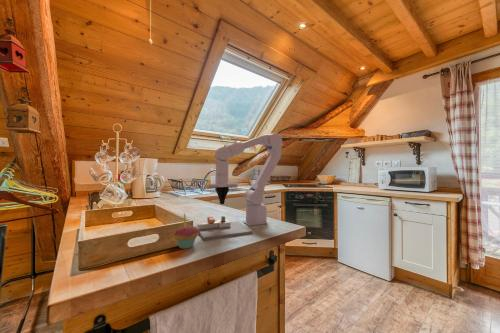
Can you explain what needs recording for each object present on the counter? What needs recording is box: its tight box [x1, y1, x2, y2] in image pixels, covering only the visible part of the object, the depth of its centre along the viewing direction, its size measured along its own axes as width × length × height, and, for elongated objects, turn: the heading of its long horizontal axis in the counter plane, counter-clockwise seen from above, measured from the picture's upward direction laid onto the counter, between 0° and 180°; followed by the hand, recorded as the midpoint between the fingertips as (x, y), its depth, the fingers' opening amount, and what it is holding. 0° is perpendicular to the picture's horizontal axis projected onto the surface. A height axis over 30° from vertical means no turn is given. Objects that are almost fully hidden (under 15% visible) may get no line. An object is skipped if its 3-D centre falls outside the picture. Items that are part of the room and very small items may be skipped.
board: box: [194, 220, 254, 241], centre depth 97 cm, size 20×16×1 cm
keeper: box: [206, 215, 216, 223], centre depth 99 cm, size 2×5×5 cm, turn 24°
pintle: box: [220, 215, 226, 222], centre depth 100 cm, size 2×2×4 cm
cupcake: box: [174, 212, 199, 249], centre depth 80 cm, size 9×8×12 cm
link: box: [196, 218, 232, 230], centre depth 98 cm, size 14×5×2 cm, turn 114°
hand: (222, 203), depth 105 cm, fingers closed
